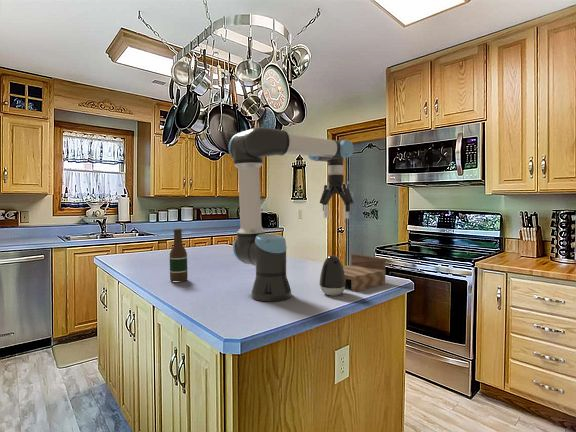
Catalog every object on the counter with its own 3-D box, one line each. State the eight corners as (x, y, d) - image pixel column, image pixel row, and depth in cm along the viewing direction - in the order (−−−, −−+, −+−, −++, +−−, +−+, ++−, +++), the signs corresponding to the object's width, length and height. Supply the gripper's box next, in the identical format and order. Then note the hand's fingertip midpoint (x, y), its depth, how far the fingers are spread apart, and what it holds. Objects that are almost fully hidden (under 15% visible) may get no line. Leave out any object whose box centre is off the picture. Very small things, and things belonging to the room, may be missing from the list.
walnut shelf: (354, 291, 142) (354, 264, 141) (322, 283, 156) (322, 258, 155) (385, 283, 154) (385, 258, 153) (353, 277, 168) (353, 253, 167)
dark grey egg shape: (325, 298, 132) (325, 258, 131) (315, 291, 142) (315, 254, 141) (350, 296, 135) (350, 256, 134) (339, 289, 145) (339, 252, 144)
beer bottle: (188, 281, 163) (187, 229, 162) (170, 283, 160) (169, 230, 159) (186, 278, 170) (185, 228, 169) (169, 279, 167) (168, 228, 166)
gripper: (360, 173, 166) (360, 218, 167) (323, 176, 186) (323, 217, 186) (350, 172, 161) (350, 219, 162) (312, 175, 181) (312, 217, 182)
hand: (335, 218), depth 174 cm, fingers open, 13 cm apart
